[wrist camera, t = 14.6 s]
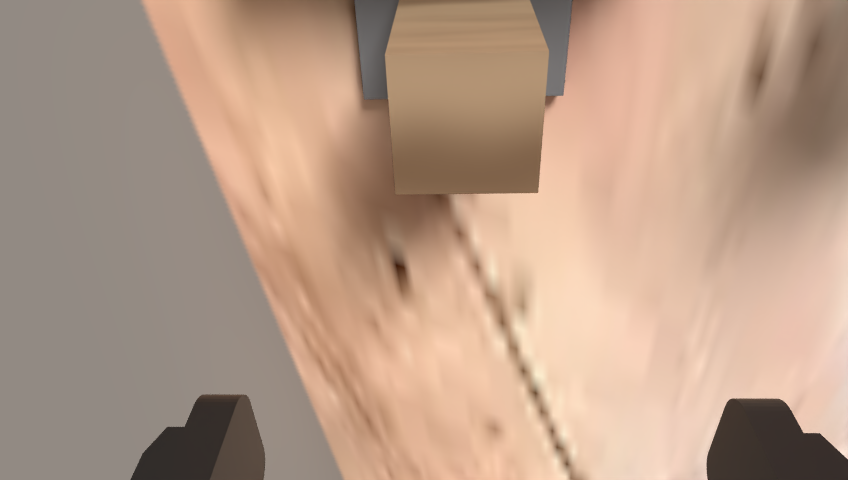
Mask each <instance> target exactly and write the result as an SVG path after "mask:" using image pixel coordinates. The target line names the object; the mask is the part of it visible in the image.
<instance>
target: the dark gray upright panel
mask: <svg viewBox="0 0 848 480" xmlns="http://www.w3.org/2000/svg"><path fill="white" fill-rule="evenodd" d="M354 1H355V11H356V22H357V32H358V43H359V53H360V63H361V74H362V84H363V94H364V99H388V91H387V77H386V64H385V53H386V49H387V45H388V41H389V37H390V33H391V29H392V26H393V22H394V18H395V14H396V10H397V6H398V3H399V0H354ZM530 2H531V4H532V7H533V10H534V12H535V15H536V18H537V20H538V23H539V25H540V28H541V31H542V33H543V36H544V39H545V41H546V44H547V47H548V49H549V59H548V72H547V85H546V96H563V93H564V83H565V73H566V62H567V52H568V42H569V31H570V21H571V11H572V0H530Z"/></svg>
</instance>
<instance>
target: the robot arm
mask: <svg viewBox="0 0 848 480" xmlns="http://www.w3.org/2000/svg"><path fill="white" fill-rule="evenodd" d="M264 470H265V453H264V447H263V444H262V440H261V437H260V434H259V430H258V427H257V423H256V420H255V417H254V413H253V410H252V406H251V403H250V400H249V398H248V397H247V395H201V396H200V397H199V398H198V399H197V400H196V402H195V404H194V406H193V409H192V411H191V413H190V416H189V418H188V420H187V423H186V425H185V427H167V428H166V429H165V430H164V431H163V432H162V433H161V434H160V435H159V437H158V438H157V439H156V440H155V441H154V442H153V443H152V444H151V445H150V446H149V447H148V448H147V450H145V452H144V453H143V454H142V456H141V459H140V461H139V463H138V465H137V467H136V469H135V471H134V473H133V476H132V478H131V480H263V478H264ZM707 477H708V480H848V459H847V458H845V457H844V456H843V455H842V454H841V453H840V452H839V451H838V450H837V449H836V448H835V447H834V446H833V445H832V444H831V443H829V442H828V441H827V440H826V439H825V438H824V437H823V436H822V435H821V434H820V433H803V431H802V430H801V428H800V426H799V424H798V422H797V421H796V419H795V417H794V415H793V413H792V411H791V410H790V408H789V407H788V405H787V404H786V403H785V402H784V401H782V400H780V399H730V400H729V401H728V402H727V404H726V406H725V408H724V411H723V414H722V417H721V419H720V422H719V425H718V428H717V430H716V433H715V436H714V439H713V441H712V444H711V447H710V450H709V452H708V456H707Z"/></svg>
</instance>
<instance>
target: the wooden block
mask: <svg viewBox="0 0 848 480" xmlns="http://www.w3.org/2000/svg"><path fill="white" fill-rule="evenodd" d="M548 59H549V49H548V47H547V44H546V41H545V39H544V36H543V33H542V31H541V28H540V25H539V23H538V20H537V18H536V15H535V12H534V10H533V7H532V4H531V2H530V0H399V3H398V6H397V10H396V14H395V18H394V22H393V26H392V29H391V33H390V37H389V41H388V45H387V49H386V53H385V64H386V77H387V91H388V104H389V118H390V131H391V145H392V158H393V172H394V185H395V195H410V194H489V193H538V187H539V174H540V161H541V149H542V136H543V123H544V110H545V98H546V85H547V72H548Z"/></svg>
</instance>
